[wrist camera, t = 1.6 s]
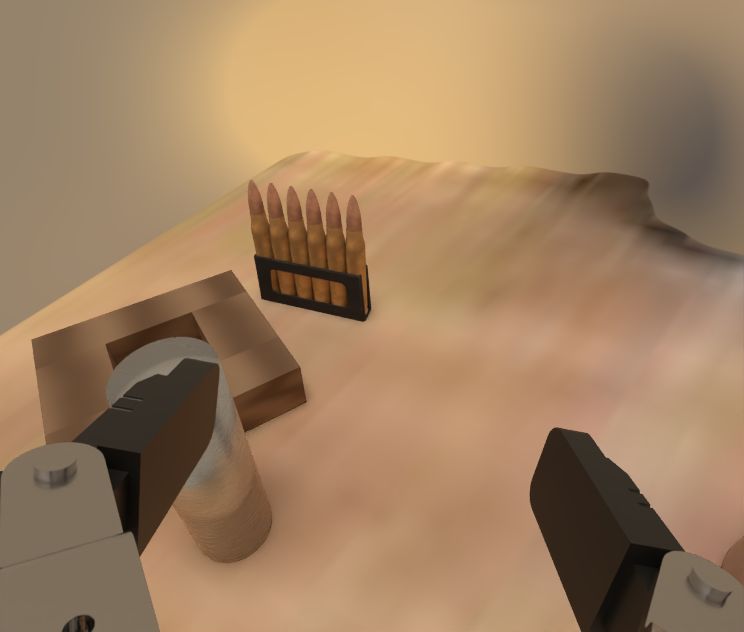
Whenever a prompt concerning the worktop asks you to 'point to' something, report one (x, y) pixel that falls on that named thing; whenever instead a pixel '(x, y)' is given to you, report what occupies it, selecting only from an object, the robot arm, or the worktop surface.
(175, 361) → the steel pin
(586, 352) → the worktop surface
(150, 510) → the robot arm
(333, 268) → the ammunition clip
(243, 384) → the walnut socket block
